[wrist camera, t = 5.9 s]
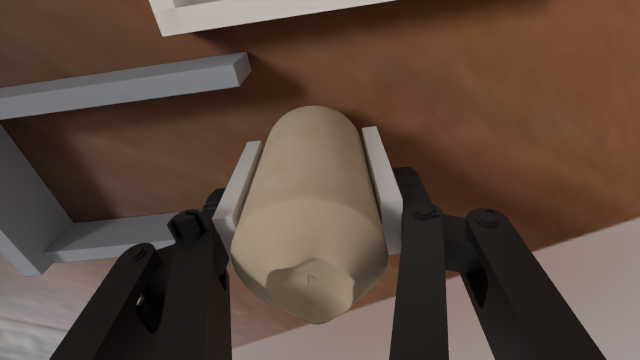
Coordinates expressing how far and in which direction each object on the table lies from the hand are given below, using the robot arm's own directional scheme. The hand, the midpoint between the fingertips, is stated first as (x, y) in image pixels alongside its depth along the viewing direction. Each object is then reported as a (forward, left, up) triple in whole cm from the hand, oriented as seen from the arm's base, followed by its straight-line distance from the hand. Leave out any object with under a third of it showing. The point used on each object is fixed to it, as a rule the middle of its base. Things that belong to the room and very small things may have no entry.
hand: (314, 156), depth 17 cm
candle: (0, 0, -1) cm, 1 cm away
